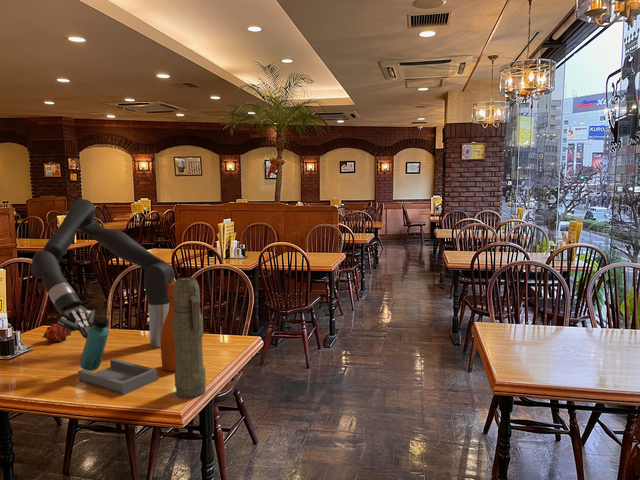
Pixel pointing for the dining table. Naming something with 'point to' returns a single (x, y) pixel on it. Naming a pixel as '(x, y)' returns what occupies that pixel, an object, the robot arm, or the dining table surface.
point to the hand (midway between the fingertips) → (89, 337)
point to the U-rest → (119, 377)
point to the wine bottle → (168, 336)
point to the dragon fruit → (56, 333)
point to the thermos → (188, 339)
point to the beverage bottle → (95, 345)
